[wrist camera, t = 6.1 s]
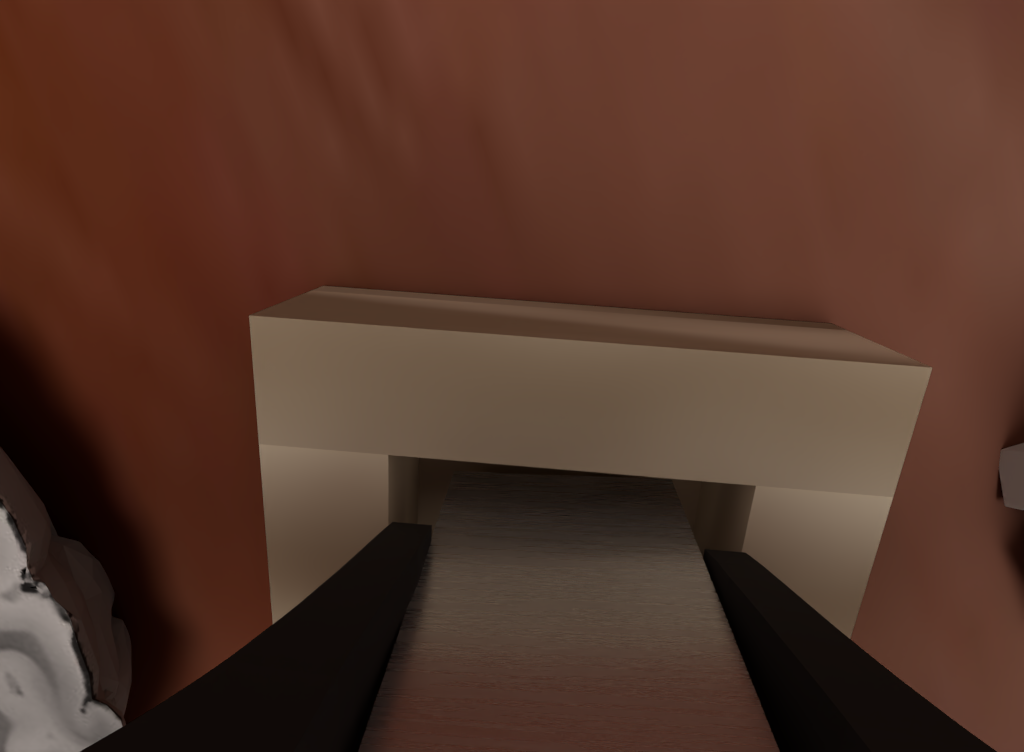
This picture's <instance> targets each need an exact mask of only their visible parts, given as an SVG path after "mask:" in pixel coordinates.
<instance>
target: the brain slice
mask: <svg viewBox="0 0 1024 752" xmlns="http://www.w3.org/2000/svg"><path fill="white" fill-rule="evenodd" d="M114 595H115V593H114V590H113V588H112V585H111V583H110V580H109V578H108V576H107V574H106V572H105V571H104V569H103V567H102V565H101V564H100V562H99V561H98V560H97V559H96V558H95V557H94V556H93V555H91V554H90V552H89V551H88V550H87V549H86V548H85V547H84V546H83V545H82V544H81V543H80V542H79V541H75V540H71V539H67V538H63V537H59V536H58V535H57V533H56V530H55V528H54V526H53V524H52V522H51V519H50V517H49V515H48V513H47V511H46V508H45V506H44V503H43V502H42V501H41V499H40V498H39V497H38V495H37V494H36V493H35V491H34V490H33V489H32V487H31V486H30V485H29V483H28V482H27V481H26V479H25V478H24V477H23V475H22V474H21V473H20V471H19V470H18V469H17V467H16V466H15V465H14V463H13V462H12V461H11V459H10V458H9V457H8V455H7V454H6V453H5V452H4V450H3V449H2V448H1V447H0V752H80V751H82V750H83V749H85V748H87V747H89V746H90V745H92V744H94V743H96V742H97V741H99V740H101V739H102V738H104V737H106V736H108V735H109V734H111V733H113V732H115V731H116V730H118V729H120V728H121V727H123V726H125V725H126V722H125V720H124V714H125V710H126V706H127V701H128V696H129V692H130V687H131V682H132V664H131V641H130V635H129V633H128V630H127V628H126V626H125V624H124V622H123V620H121V619H118V618H115V617H113V616H112V615H111V609H112V605H113V601H114Z"/></svg>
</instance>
